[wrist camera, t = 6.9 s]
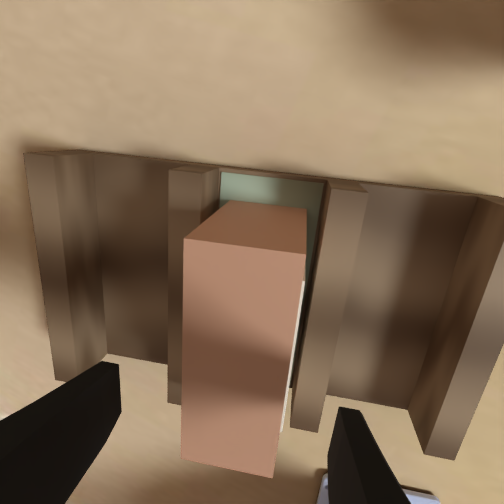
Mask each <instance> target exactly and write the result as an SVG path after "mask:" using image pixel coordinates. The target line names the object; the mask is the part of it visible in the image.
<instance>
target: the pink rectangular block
mask: <svg viewBox="0 0 504 504" xmlns="http://www.w3.org/2000/svg"><path fill="white" fill-rule="evenodd" d="M306 240H307V209H305V208H296V207H287V206H279V205H270V204H261V203H253V202H244V201H235V200H230V201H228V202H227V203H226V204H225V205H224V206H222V207H221V208H220V209H219V210H217V211H216V212H215V213H214V214H213V215H211V216H210V217H209V218H208V219H207V220H205V221H204V222H203V223H202V224H201V225H199V226H198V227H197V228H196V229H194V230H193V231H192V232H191V233H190V234H188V235H187V236H186V237H185V238H184V250H183V326H182V402H181V459H184V460H189V461H194V462H198V463H203V464H208V465H212V466H217V467H222V468H226V469H231V470H236V471H240V472H245V473H249V474H254V475H259V476H263V477H268V478H273V473H274V467H275V460H276V453H277V447H278V440H279V433H280V432H282V429H283V423H284V416H285V410H286V403H287V397H288V390H289V384H290V377H291V371H292V364H293V358H294V351H295V344H296V338H297V331H298V325H299V318H300V312H301V305H302V299H303V292H304V286H305V261H306Z"/></svg>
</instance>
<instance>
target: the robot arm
mask: <svg viewBox="0 0 504 504" xmlns="http://www.w3.org/2000/svg"><path fill="white" fill-rule="evenodd" d="M121 412H122V411H121V394H120V377H119V364H115V363H109V362H104V361H101V362H99V363H98V364H96V365H94V366H92V367H91V368H89V369H87V370H86V371H84V372H82V373H81V374H79V375H78V376H76V377H74V378H73V379H71V380H70V381H68V382H66V383H65V384H63V385H61V386H60V387H58V388H56V389H55V390H53V391H51V392H50V393H48V394H46V395H45V396H43V397H41V398H40V399H38V400H36V401H35V402H33V403H31V404H29V405H28V406H26V407H24V408H22V409H20V410H19V411H17V412H15V413H13V414H11V415H10V416H8V417H6V418H4V419H3V420H1V421H0V504H65V503H66V501H67V500H68V498H69V497H70V495H71V494H72V492H73V491H74V489H75V488H76V486H77V485H78V483H79V482H80V480H81V479H82V477H83V476H84V474H85V473H86V471H87V470H88V469H89V467H90V466H91V464H92V463H93V461H94V460H95V458H96V457H97V455H98V454H99V452H100V450H101V449H102V447H103V446H104V444H105V443H106V441H107V439H108V437H109V435H110V433H111V432H112V430H113V428H114V426H115V424H116V422H117V420H118V418H119V416H120V414H121ZM316 504H440V501H439V499H438V498H437V497H436V496H434V495H429V494H425V493H420V492H416V491H411V490H406V489H402V488H401V486H400V484H399V482H398V481H397V479H396V477H395V475H394V474H393V472H392V470H391V469H390V467H389V465H388V463H387V461H386V460H385V458H384V456H383V454H382V452H381V450H380V449H379V447H378V445H377V443H376V441H375V439H374V437H373V435H372V433H371V431H370V429H369V427H368V425H367V423H366V421H365V419H364V417H363V415H362V413H361V412H360V410H355V409H350V408H345V407H339V409H338V413H337V417H336V421H335V426H334V430H333V434H332V438H331V443H330V447H329V451H328V473H326V474H325V475H323V478H322V482H321V486H320V490H319V495H318V499H317V503H316Z"/></svg>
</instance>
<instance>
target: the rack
mask: <svg viewBox="0 0 504 504" xmlns="http://www.w3.org/2000/svg"><path fill="white" fill-rule="evenodd" d="M23 155H24V162H25V169H26V176H27V183H28V190H29V197H30V204H31V211H32V218H33V225H34V232H35V239H36V247H37V254H38V261H39V268H40V275H41V282H42V289H43V296H44V303H45V310H46V317H47V324H48V331H49V338H50V346H51V353H52V360H53V367H54V374H55V380H59V381H64V382H68V381H70V380H71V379H73V378H74V377H76V376H78V375H79V374H81V373H82V372H84V371H86V370H87V369H89V368H91V367H92V366H94V365H96V364H98V363H99V362H100V361H101V360H102V359H103V358H104V356H105V355H106V354H107V353H108V354H114V355H119V356H124V357H130V358H135V359H140V360H146V361H151V362H156V363H162V364H167V365H168V403H172V404H177V405H181V402H182V326H183V250H184V238H185V237H186V236H187V235H188V234H190V233H191V232H192V231H193V230H194V229H196V228H197V227H198V226H199V225H201V224H202V223H203V222H204V221H205V220H207V219H208V218H209V217H210V216H211V215H213V214H214V213H215V212H216V211H217V210H219V209H220V208H221V207H222V206H224V205H225V204H226V203H227V202H228V201H230V200H235V201H244V202H253V203H261V204H270V205H279V206H287V207H296V208H305V209H307V240H306V261H305V286H304V292H303V299H302V305H301V312H300V318H299V325H298V331H297V338H296V344H295V351H294V358H293V364H292V371H291V377H290V384H289V388H292V401H291V417H290V427H291V428H296V429H301V430H306V431H311V432H316V433H318V429H319V424H320V419H321V415H322V410H323V405H324V401H325V396H326V395H332V396H337V397H342V398H348V399H353V400H358V401H364V402H369V403H374V404H380V405H385V406H390V407H396V408H401V409H406V410H408V412H409V415H410V418H411V420H412V423H413V426H414V429H415V431H416V434H417V437H418V440H419V442H420V445H421V448H422V450H423V453H424V454H425V455H430V456H435V457H440V458H445V459H449V460H455V458H456V455H457V453H458V451H459V448H460V446H461V443H462V441H463V439H464V436H465V434H466V432H467V429H468V427H469V425H470V422H471V420H472V417H473V415H474V413H475V410H476V408H477V406H478V403H479V401H480V398H481V396H482V394H483V391H484V389H485V387H486V384H487V382H488V380H489V377H490V375H491V372H492V370H493V368H494V365H495V363H496V361H497V358H498V356H499V354H500V351H501V349H502V346H503V344H504V198H502V197H497V196H488V195H479V194H470V193H461V192H452V191H443V190H434V189H425V188H416V187H408V186H399V185H390V184H381V183H372V182H363V181H354V180H345V179H336V178H327V177H318V176H309V175H300V174H291V173H283V172H274V171H265V170H256V169H247V168H238V167H229V166H220V165H211V164H202V163H193V162H184V161H175V160H167V159H158V158H149V157H140V156H131V155H122V154H113V153H104V152H95V151H86V150H67V151H50V152H33V153H23Z"/></svg>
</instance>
